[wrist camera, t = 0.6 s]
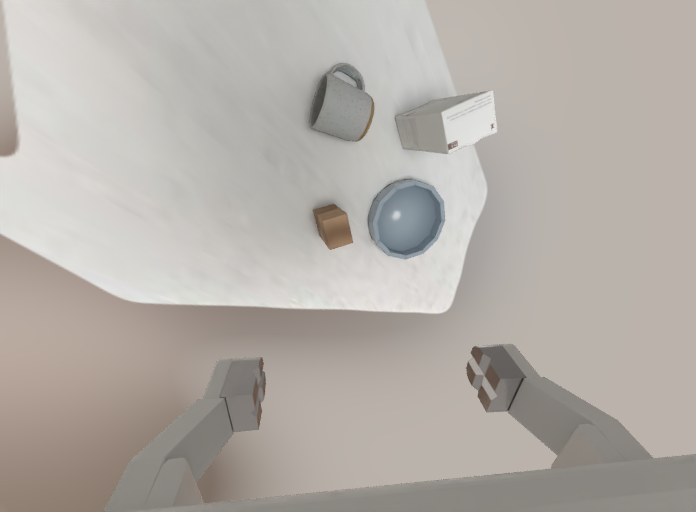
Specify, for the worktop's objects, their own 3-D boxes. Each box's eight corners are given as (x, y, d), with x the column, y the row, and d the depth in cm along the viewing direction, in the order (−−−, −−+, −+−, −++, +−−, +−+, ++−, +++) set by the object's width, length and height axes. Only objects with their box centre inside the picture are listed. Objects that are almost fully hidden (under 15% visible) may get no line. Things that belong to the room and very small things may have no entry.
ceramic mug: (352, 144, 50) (368, 144, 43) (306, 129, 47) (315, 126, 40) (370, 77, 47) (390, 65, 40) (322, 56, 44) (335, 39, 37)
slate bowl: (361, 191, 53) (367, 193, 51) (432, 171, 56) (441, 172, 53) (375, 262, 59) (380, 267, 57) (438, 241, 62) (446, 245, 59)
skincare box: (433, 99, 51) (496, 84, 38) (440, 134, 54) (501, 131, 41) (391, 117, 50) (441, 109, 37) (401, 152, 53) (450, 155, 40)
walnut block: (312, 210, 52) (322, 220, 45) (334, 204, 53) (346, 213, 45) (319, 235, 54) (329, 249, 47) (339, 229, 55) (353, 242, 48)
